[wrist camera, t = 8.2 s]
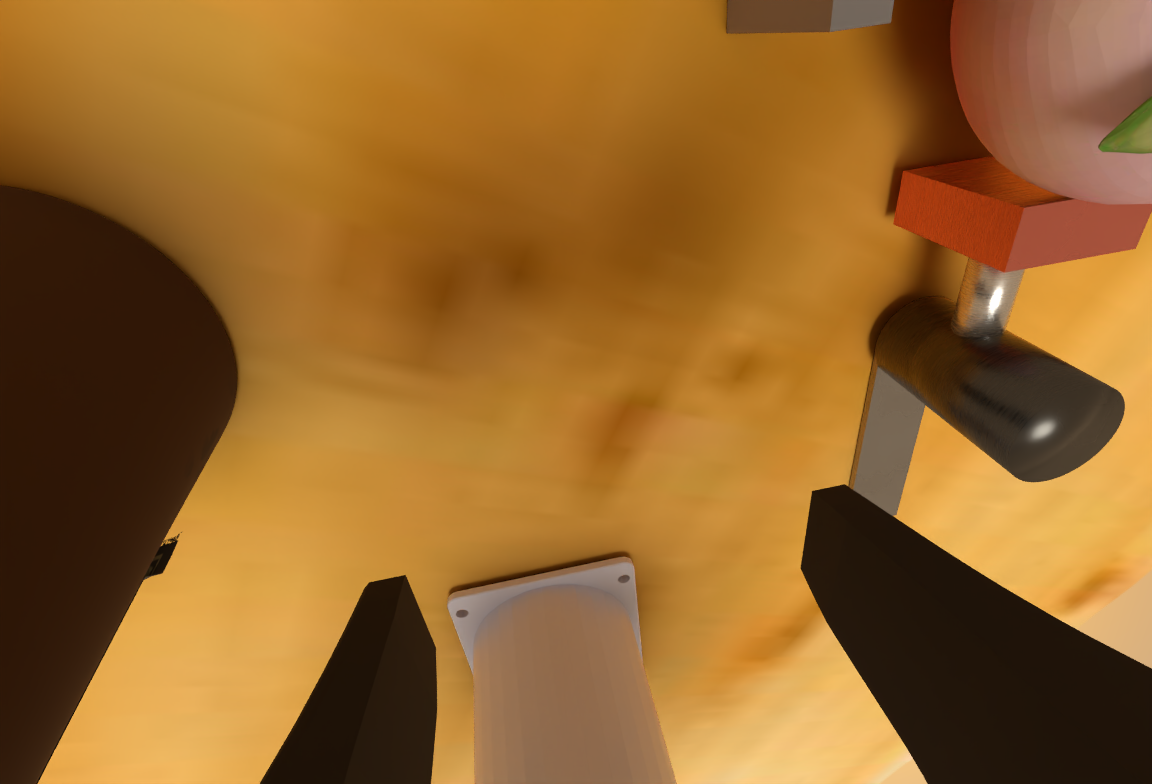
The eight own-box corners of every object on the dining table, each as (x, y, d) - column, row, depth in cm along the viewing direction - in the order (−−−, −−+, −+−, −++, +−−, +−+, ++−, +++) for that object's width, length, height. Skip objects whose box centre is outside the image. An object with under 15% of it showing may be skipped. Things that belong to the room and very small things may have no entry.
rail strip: (892, 510, 26) (896, 514, 26) (842, 520, 26) (846, 525, 26) (937, 334, 21) (942, 338, 21) (875, 346, 21) (880, 350, 21)
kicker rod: (953, 367, 21) (1103, 468, 16) (863, 384, 21) (987, 493, 16) (1014, 152, 17) (1240, 199, 12) (903, 170, 17) (1087, 226, 12)
